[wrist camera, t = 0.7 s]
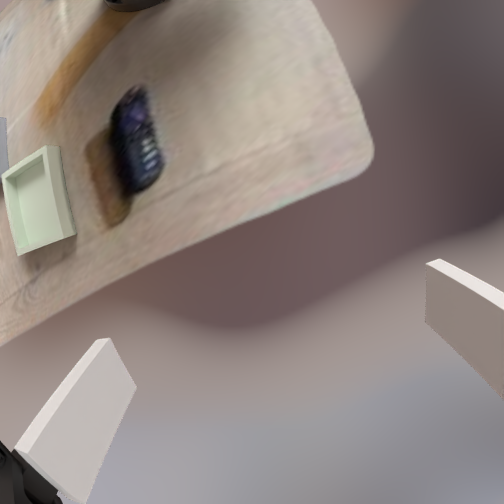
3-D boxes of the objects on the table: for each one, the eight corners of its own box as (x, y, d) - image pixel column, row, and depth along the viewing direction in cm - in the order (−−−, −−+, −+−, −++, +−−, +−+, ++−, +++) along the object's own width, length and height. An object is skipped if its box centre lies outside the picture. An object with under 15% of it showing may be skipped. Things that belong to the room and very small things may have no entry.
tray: (14, 173, 33) (1, 174, 29) (59, 146, 32) (46, 144, 29) (30, 251, 36) (17, 256, 33) (77, 233, 36) (64, 238, 32)
